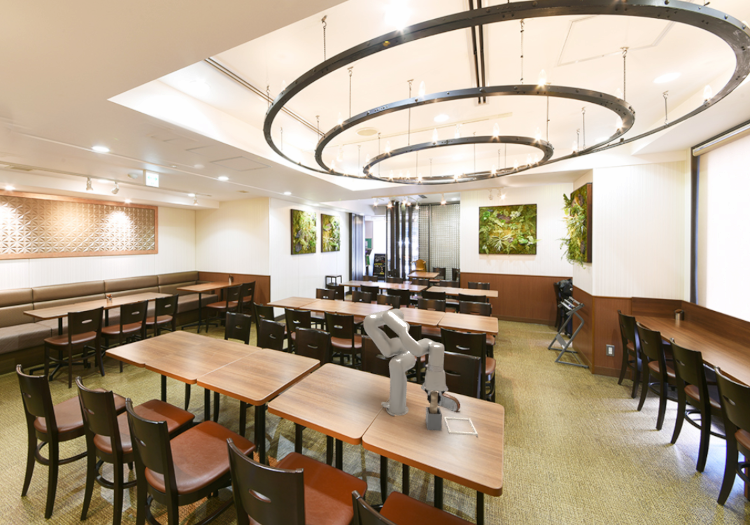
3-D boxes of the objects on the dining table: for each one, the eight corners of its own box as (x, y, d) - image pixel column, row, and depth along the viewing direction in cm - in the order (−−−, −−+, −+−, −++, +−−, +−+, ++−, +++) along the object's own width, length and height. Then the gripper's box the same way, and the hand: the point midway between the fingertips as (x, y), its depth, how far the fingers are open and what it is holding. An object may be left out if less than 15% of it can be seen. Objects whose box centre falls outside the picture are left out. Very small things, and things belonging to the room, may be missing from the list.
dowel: (429, 421, 146) (430, 394, 145) (428, 416, 150) (429, 390, 149) (437, 421, 146) (438, 395, 145) (436, 417, 150) (437, 391, 149)
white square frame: (449, 435, 142) (449, 432, 142) (443, 420, 155) (444, 416, 155) (477, 437, 141) (477, 433, 141) (469, 421, 154) (470, 418, 154)
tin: (460, 413, 162) (460, 398, 162) (457, 415, 160) (458, 400, 160) (436, 403, 172) (437, 389, 172) (434, 405, 170) (434, 391, 170)
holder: (427, 431, 144) (428, 414, 144) (425, 423, 151) (426, 406, 151) (441, 432, 144) (442, 415, 144) (438, 424, 151) (439, 407, 151)
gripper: (420, 369, 143) (418, 404, 144) (453, 371, 142) (451, 407, 143) (418, 363, 151) (416, 397, 151) (450, 365, 150) (448, 399, 151)
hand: (433, 401), depth 147 cm, fingers closed on dowel, 4 cm apart
